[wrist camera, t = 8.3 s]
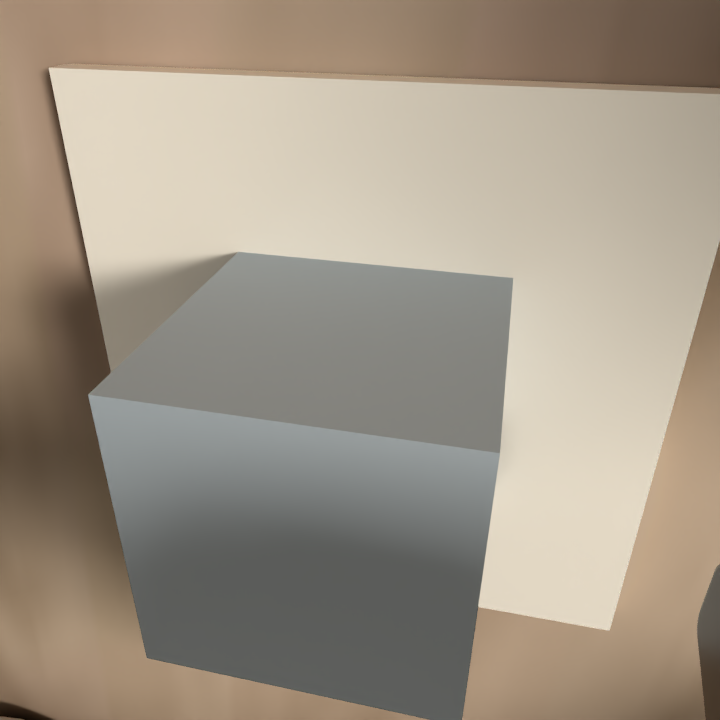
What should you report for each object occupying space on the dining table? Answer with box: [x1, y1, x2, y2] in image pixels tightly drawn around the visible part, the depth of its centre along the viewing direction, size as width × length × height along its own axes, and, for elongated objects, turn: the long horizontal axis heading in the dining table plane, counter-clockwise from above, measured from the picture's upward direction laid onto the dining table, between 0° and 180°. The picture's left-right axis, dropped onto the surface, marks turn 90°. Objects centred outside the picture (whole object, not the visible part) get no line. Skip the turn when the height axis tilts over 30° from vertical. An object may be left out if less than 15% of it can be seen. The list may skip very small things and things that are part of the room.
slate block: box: [88, 252, 513, 720], centre depth 9 cm, size 4×4×4 cm
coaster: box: [49, 64, 720, 631], centre depth 11 cm, size 9×9×1 cm
